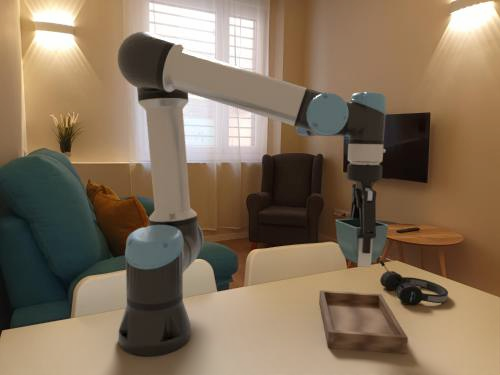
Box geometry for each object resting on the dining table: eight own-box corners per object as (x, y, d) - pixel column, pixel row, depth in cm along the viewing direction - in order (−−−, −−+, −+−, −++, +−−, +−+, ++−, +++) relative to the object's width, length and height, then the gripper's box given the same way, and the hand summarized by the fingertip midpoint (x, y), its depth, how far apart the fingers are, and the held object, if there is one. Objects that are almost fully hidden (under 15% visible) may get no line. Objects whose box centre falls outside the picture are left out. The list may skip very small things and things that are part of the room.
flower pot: (332, 255, 90) (334, 219, 89) (364, 253, 92) (366, 217, 91) (353, 267, 82) (355, 227, 80) (387, 264, 84) (389, 225, 83)
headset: (371, 254, 111) (433, 261, 114) (366, 285, 112) (427, 290, 115) (394, 270, 98) (463, 277, 100) (387, 305, 99) (456, 310, 102)
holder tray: (327, 347, 78) (328, 332, 78) (319, 302, 100) (319, 290, 100) (406, 353, 77) (407, 337, 76) (380, 306, 99) (381, 294, 98)
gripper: (396, 167, 73) (389, 277, 76) (370, 161, 95) (365, 246, 98) (357, 166, 73) (351, 275, 76) (340, 160, 95) (336, 245, 98)
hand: (359, 259), depth 87 cm, fingers closed on flower pot, 10 cm apart
